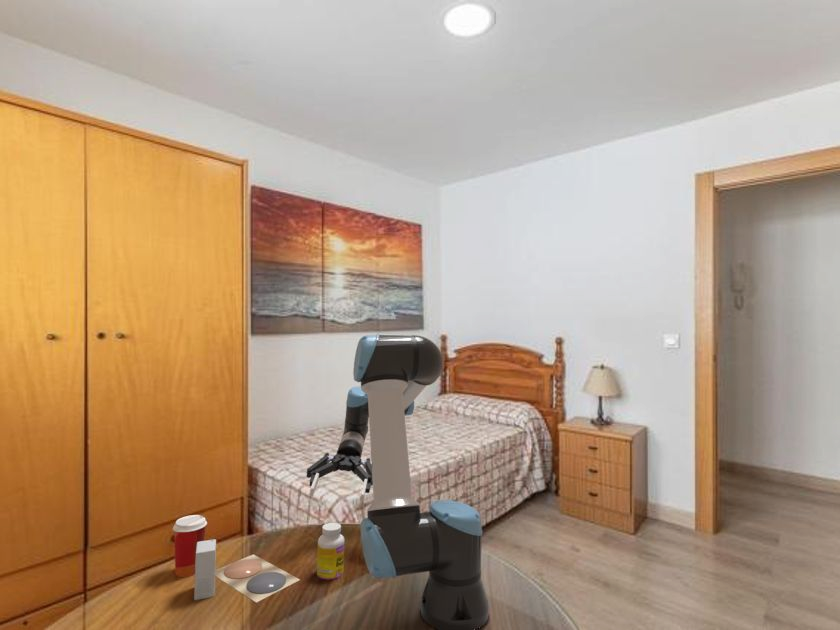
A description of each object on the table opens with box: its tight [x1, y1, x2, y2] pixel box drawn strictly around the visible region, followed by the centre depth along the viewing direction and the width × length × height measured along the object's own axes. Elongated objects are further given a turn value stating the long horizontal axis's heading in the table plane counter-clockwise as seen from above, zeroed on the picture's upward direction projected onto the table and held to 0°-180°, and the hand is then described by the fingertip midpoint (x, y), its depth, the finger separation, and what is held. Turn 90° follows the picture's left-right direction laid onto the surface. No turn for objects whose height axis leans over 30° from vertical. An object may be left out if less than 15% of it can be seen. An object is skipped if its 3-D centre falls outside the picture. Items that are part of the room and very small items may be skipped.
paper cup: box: [172, 514, 208, 578], centre depth 114 cm, size 8×8×14 cm
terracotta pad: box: [224, 559, 262, 579], centre depth 115 cm, size 9×9×1 cm
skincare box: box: [193, 539, 217, 601], centre depth 105 cm, size 6×4×12 cm
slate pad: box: [247, 572, 286, 594], centre depth 108 cm, size 9×9×1 cm
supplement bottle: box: [316, 522, 345, 580], centre depth 114 cm, size 7×7×13 cm
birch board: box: [215, 553, 301, 604], centre depth 111 cm, size 20×12×2 cm, turn 53°
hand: (336, 495), depth 120 cm, fingers open, 13 cm apart
